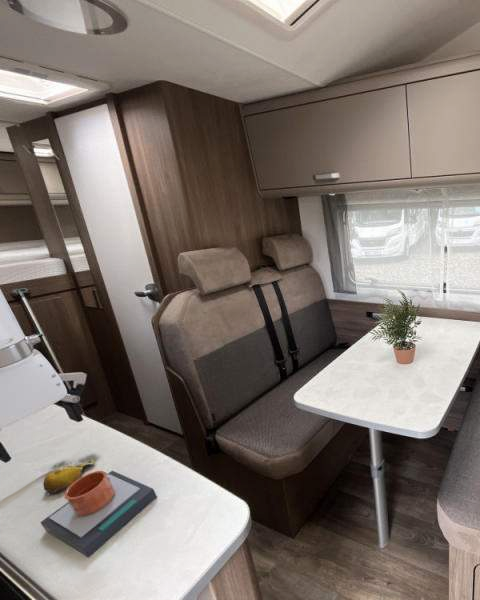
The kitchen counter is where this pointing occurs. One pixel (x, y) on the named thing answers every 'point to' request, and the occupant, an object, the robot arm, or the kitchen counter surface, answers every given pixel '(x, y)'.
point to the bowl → (89, 493)
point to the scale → (100, 516)
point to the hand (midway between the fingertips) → (43, 438)
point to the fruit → (63, 477)
